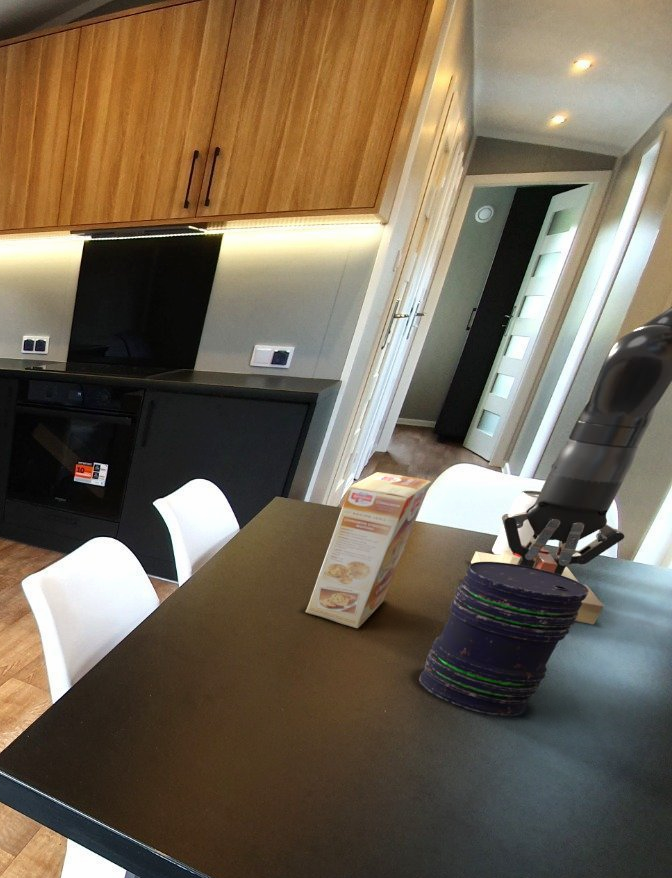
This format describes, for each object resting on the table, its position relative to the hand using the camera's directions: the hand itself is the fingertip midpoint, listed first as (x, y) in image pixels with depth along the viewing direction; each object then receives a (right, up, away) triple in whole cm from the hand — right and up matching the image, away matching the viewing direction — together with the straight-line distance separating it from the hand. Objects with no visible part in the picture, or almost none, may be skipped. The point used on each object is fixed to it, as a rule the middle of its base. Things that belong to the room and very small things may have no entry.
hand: (532, 582), depth 99 cm
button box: (+8, +1, +10) cm, 13 cm away
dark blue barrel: (-32, -14, -24) cm, 42 cm away
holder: (0, 0, 0) cm, 0 cm away
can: (+17, +5, +20) cm, 27 cm away
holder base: (0, -3, +1) cm, 3 cm away
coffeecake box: (-31, -4, -2) cm, 31 cm away
